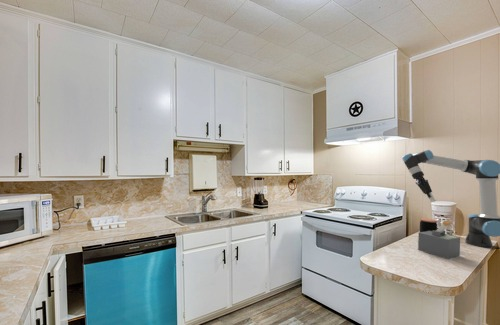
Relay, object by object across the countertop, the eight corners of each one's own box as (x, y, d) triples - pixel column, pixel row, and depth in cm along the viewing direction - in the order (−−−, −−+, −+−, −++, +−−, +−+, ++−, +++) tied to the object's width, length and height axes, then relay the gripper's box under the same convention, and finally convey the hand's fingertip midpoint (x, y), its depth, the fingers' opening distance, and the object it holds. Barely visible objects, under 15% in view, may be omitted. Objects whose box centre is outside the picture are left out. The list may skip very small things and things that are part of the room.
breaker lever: (438, 231, 167) (448, 220, 162) (441, 234, 165) (452, 223, 160) (433, 232, 165) (444, 221, 159) (437, 235, 163) (447, 223, 158)
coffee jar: (440, 245, 180) (440, 221, 180) (425, 245, 180) (426, 221, 180) (429, 241, 190) (430, 218, 191) (416, 240, 191) (416, 217, 191)
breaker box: (429, 247, 175) (429, 226, 176) (459, 255, 159) (460, 233, 159) (418, 249, 169) (418, 228, 169) (448, 259, 153) (449, 235, 153)
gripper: (416, 174, 193) (433, 201, 184) (407, 175, 187) (423, 204, 178) (425, 169, 187) (443, 198, 178) (416, 171, 181) (433, 201, 172)
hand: (433, 201), depth 178 cm, fingers closed
